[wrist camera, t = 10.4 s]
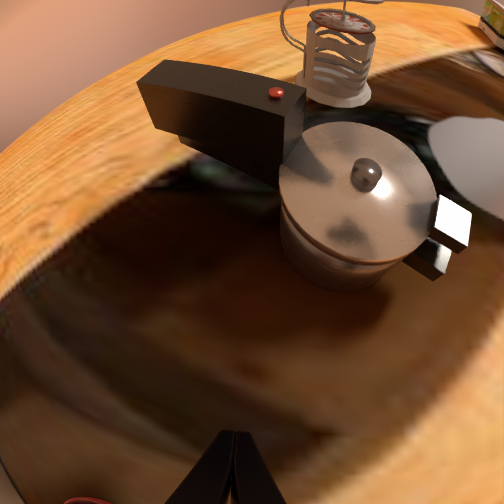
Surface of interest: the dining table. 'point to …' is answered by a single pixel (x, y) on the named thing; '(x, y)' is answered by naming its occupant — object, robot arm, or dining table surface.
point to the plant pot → (86, 501)
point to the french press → (331, 66)
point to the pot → (315, 261)
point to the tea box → (493, 22)
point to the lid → (311, 162)
